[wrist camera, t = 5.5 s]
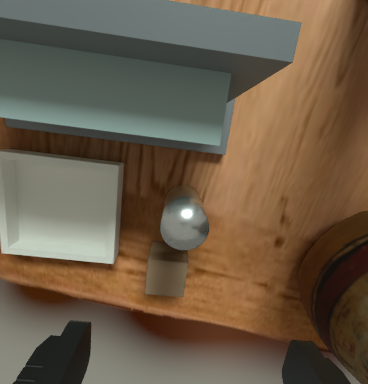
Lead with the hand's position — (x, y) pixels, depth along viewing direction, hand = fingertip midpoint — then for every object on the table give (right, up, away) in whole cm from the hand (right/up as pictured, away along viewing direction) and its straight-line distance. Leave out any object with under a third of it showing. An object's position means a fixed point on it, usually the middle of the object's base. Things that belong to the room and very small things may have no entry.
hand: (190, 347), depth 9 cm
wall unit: (-7, +15, +16) cm, 23 cm away
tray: (-15, +5, +19) cm, 24 cm away
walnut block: (-2, -3, +21) cm, 21 cm away
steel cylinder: (0, +5, +19) cm, 20 cm away
